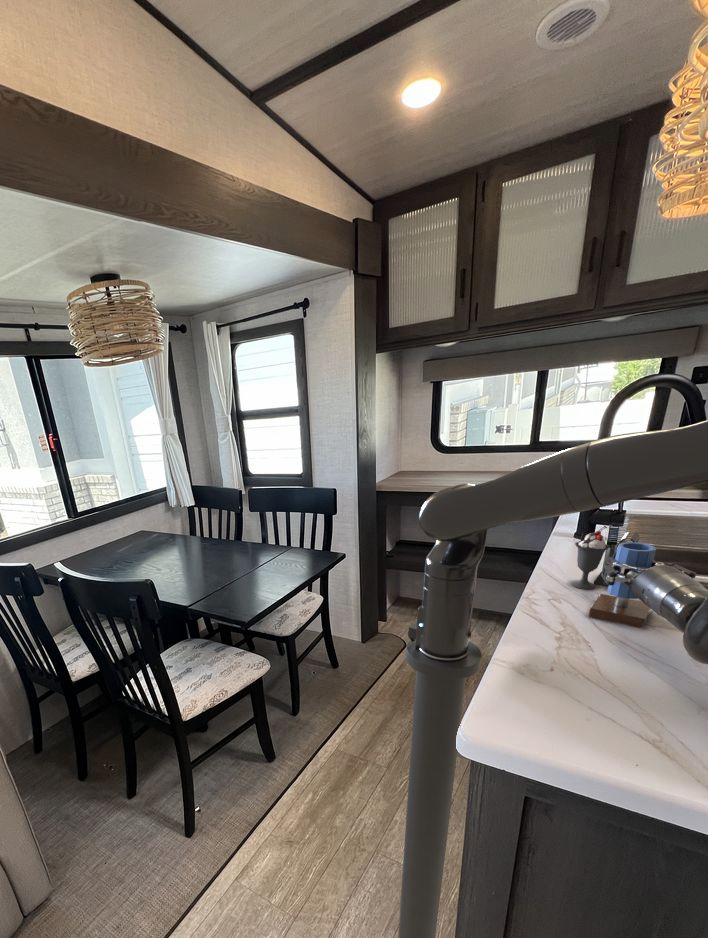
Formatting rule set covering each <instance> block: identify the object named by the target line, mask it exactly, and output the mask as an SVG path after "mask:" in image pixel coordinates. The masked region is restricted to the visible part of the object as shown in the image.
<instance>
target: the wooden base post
mask: <svg viewBox="0 0 708 938" xmlns="http://www.w3.org/2000/svg"><path fill="white" fill-rule="evenodd" d="M650 611H651V609H650V608H649V607H648V606H647V605H645V604H644V603H643V602H642V601H641V600H638V599H626V598H620V597H616V596H613V595H611V594H605V593H599V594H598V596H597V597H596V599H595V601H594V602H592V605H591V606H590V608H589V612H588V617H589V618H593V619H599V620H603V621H607V622H613V623H617V624H622V625H627V626H632V627H637V628H641V629H642V628H644V625H645V623H646V621H647V619H648V616H649V614H650Z"/></svg>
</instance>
